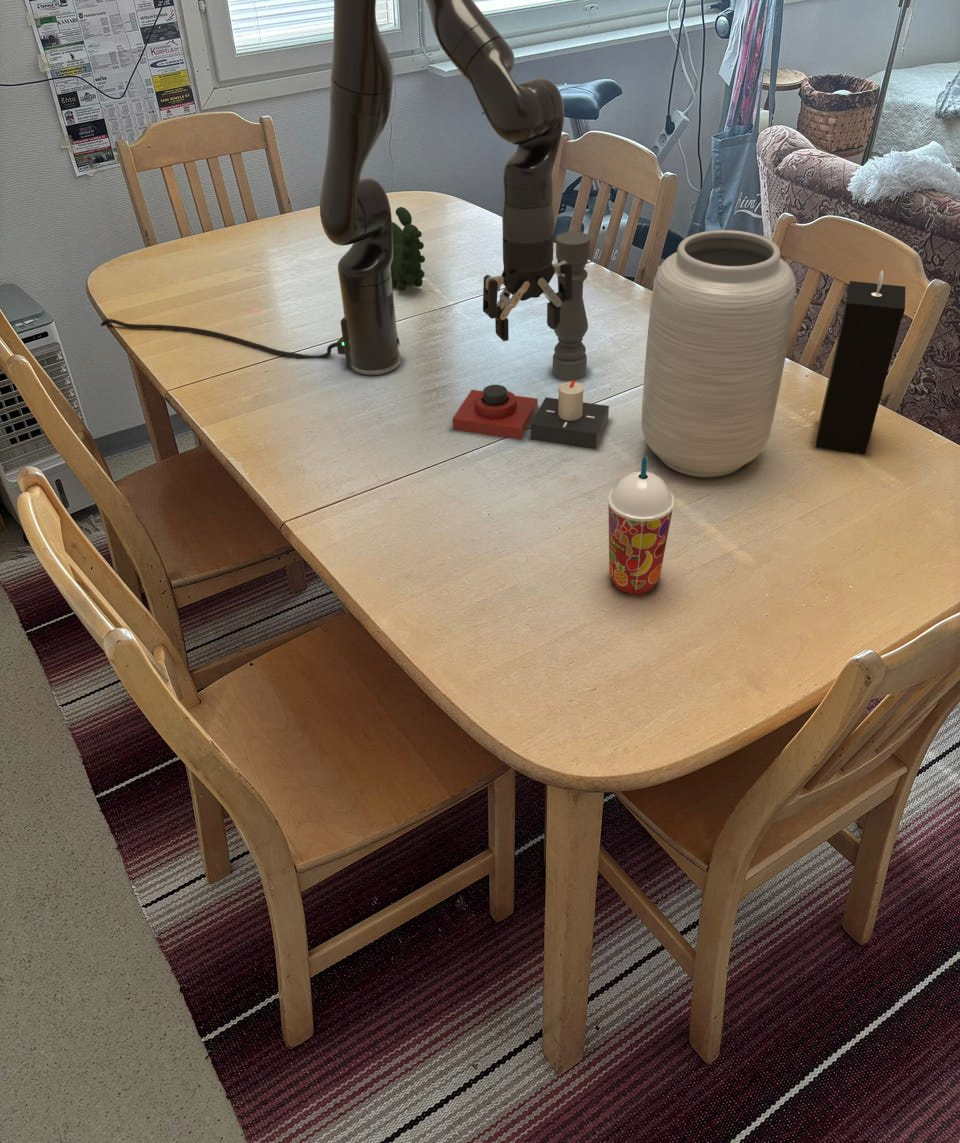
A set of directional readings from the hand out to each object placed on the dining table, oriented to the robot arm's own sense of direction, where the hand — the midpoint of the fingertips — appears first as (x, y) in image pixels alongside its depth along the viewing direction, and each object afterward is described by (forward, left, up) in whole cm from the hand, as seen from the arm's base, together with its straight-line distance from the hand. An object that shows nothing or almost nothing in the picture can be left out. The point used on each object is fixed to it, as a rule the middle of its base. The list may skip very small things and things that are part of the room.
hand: (527, 333), depth 152 cm
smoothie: (+25, -35, -17) cm, 46 cm away
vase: (+29, -1, -17) cm, 34 cm away
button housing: (-6, 0, -17) cm, 18 cm away
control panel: (+7, 0, -17) cm, 18 cm away
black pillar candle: (+50, +9, -17) cm, 54 cm away
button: (-6, 0, -13) cm, 14 cm away
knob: (+7, 0, -14) cm, 16 cm away
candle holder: (+2, +19, -17) cm, 26 cm away
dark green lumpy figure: (-45, +50, -17) cm, 70 cm away
